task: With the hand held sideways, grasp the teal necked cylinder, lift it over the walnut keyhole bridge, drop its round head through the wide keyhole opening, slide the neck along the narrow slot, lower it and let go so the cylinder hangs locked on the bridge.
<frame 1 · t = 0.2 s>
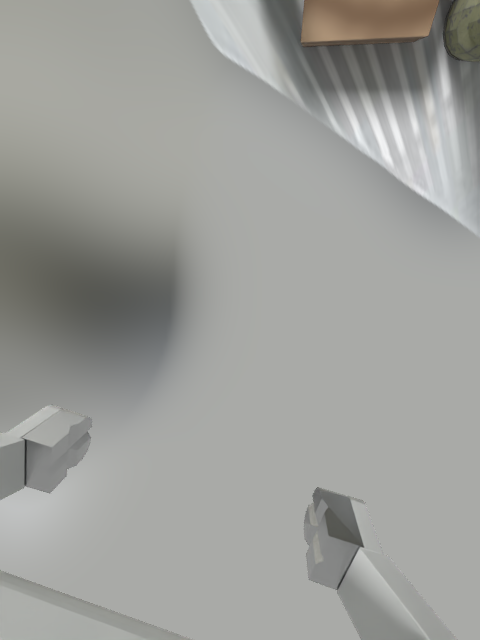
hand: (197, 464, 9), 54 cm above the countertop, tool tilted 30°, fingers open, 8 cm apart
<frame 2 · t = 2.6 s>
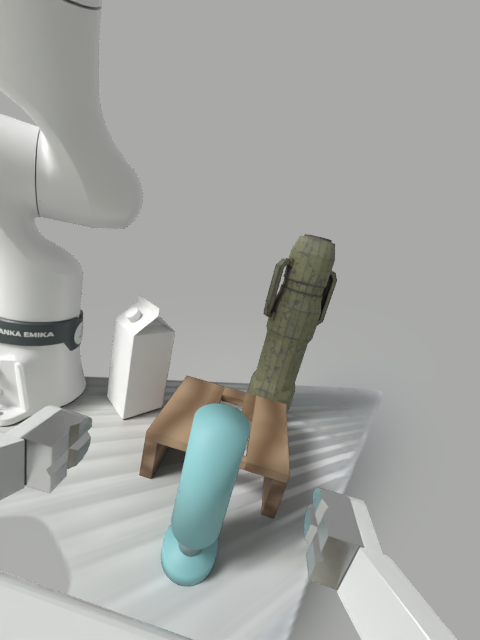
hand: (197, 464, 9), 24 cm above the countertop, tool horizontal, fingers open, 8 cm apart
milk carton: (134, 403, 47), on the countertop
keyhole bridge: (218, 453, 41), on the countertop
teal necked cylinder: (188, 552, 27), on the countertop
thermos: (265, 410, 55), on the countertop
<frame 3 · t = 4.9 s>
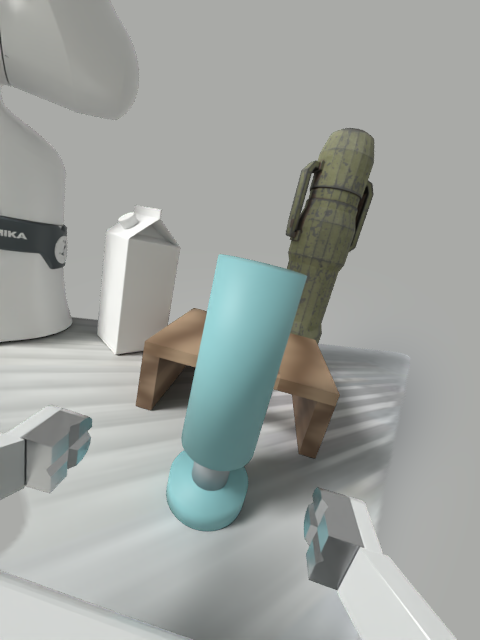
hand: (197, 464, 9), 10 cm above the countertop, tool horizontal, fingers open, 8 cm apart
milk carton: (130, 343, 39), on the countertop
keyhole bridge: (235, 392, 33), on the countertop
teal necked cylinder: (205, 490, 19), on the countertop
thermos: (284, 360, 47), on the countertop
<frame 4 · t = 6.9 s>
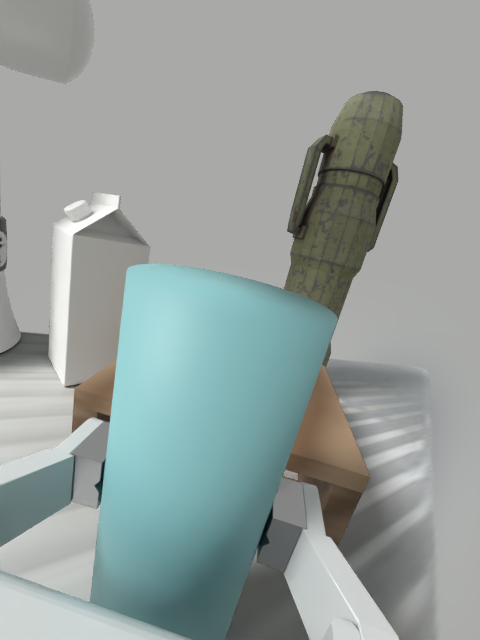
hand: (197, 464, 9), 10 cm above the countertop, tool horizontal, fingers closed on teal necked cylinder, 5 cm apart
milk carton: (91, 367, 31), on the countertop
keyhole bridge: (218, 439, 25), on the countertop
thermos: (285, 384, 38), on the countertop
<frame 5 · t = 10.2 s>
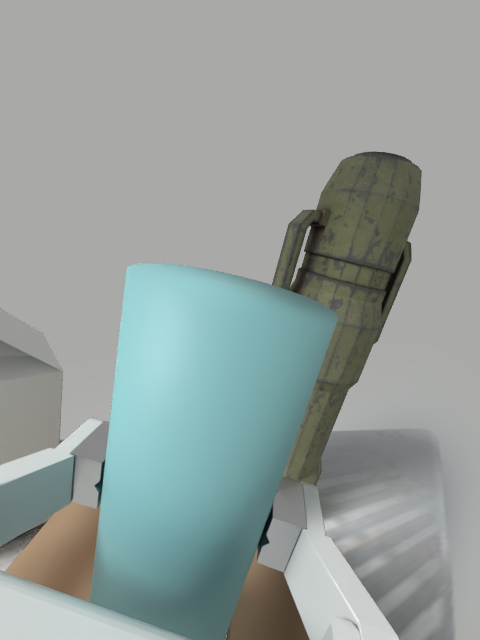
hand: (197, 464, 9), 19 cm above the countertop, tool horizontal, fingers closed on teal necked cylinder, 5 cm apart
thermos: (265, 497, 31), on the countertop
when the fingers open (13 cm above the countertop, at t = 13.8 s): teal necked cylinder stays where it is, resting on keyhole bridge.
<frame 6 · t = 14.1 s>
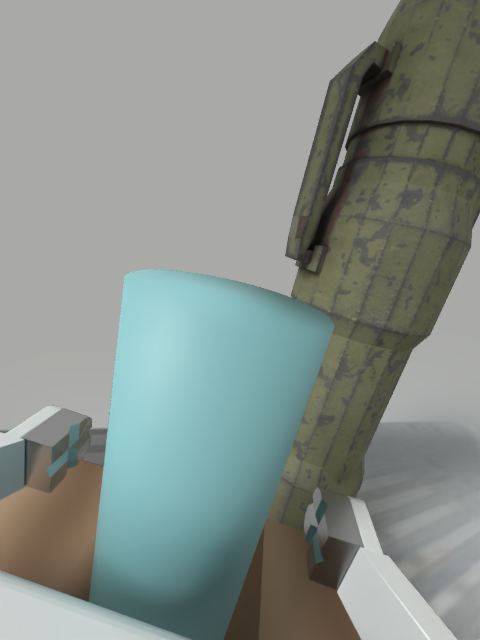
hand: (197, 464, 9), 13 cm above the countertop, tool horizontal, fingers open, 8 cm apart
thermos: (282, 505, 23), on the countertop
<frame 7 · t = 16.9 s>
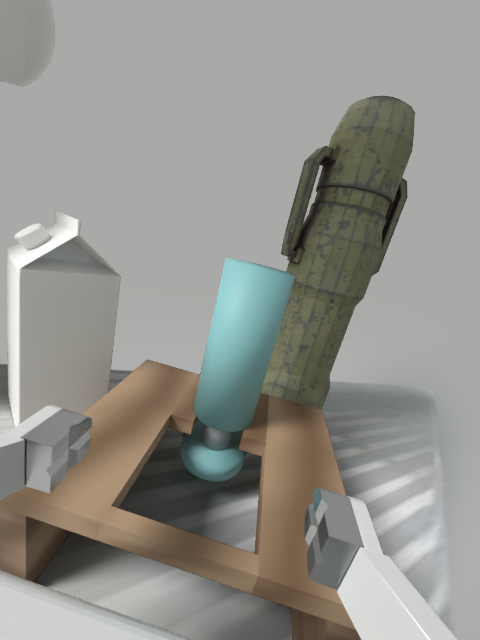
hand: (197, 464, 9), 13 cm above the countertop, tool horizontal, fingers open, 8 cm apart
milk carton: (57, 408, 27), on the countertop
keyhole bridge: (197, 506, 21), on the countertop
teal necked cylinder: (212, 453, 23), point 2 cm above the countertop, touching keyhole bridge
thermos: (279, 418, 35), on the countertop
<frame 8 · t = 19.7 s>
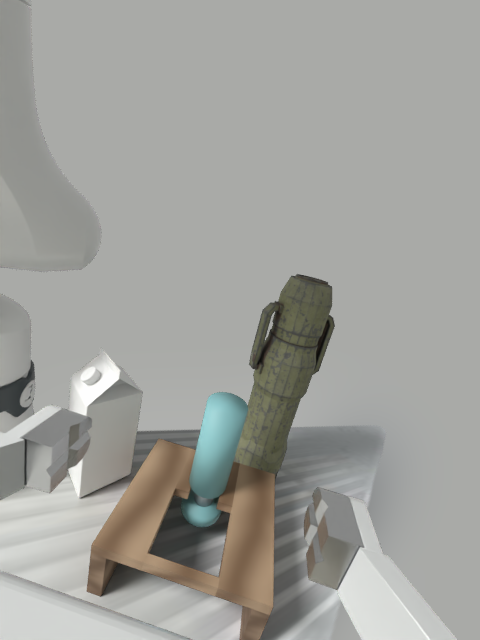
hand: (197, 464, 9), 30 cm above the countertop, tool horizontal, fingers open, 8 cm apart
milk carton: (97, 470, 40), on the countertop
keyhole bridge: (191, 542, 34), on the countertop
teal necked cylinder: (201, 505, 36), point 2 cm above the countertop, touching keyhole bridge
thermos: (253, 467, 48), on the countertop
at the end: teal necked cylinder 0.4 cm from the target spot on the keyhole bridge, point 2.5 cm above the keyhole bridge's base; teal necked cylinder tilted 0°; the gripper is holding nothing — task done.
